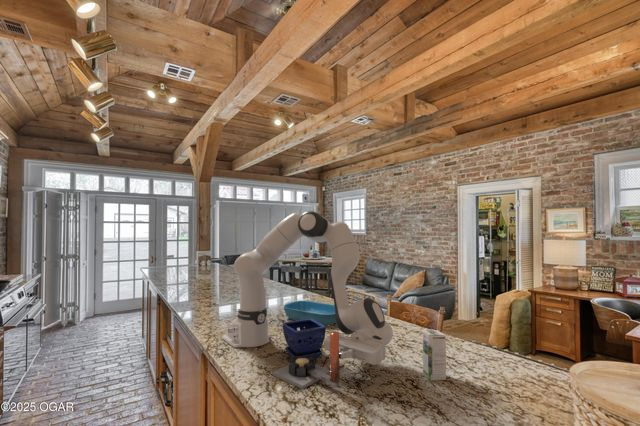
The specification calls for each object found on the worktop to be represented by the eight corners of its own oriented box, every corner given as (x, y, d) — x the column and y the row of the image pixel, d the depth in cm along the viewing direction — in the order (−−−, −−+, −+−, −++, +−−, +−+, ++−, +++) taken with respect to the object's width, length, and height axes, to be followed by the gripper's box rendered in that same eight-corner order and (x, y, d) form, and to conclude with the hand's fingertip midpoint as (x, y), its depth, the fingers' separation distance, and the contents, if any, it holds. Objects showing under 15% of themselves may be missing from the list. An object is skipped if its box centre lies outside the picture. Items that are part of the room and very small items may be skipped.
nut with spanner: (283, 370, 106) (284, 322, 107) (303, 362, 113) (303, 317, 113) (327, 393, 91) (327, 337, 92) (347, 383, 98) (347, 331, 98)
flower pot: (294, 365, 114) (294, 331, 114) (281, 352, 125) (281, 322, 126) (326, 358, 120) (326, 326, 120) (311, 347, 131) (311, 317, 132)
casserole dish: (353, 319, 173) (353, 306, 173) (333, 330, 154) (333, 315, 154) (299, 310, 192) (299, 298, 193) (275, 318, 174) (275, 305, 174)
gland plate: (272, 375, 106) (272, 361, 106) (301, 362, 116) (301, 349, 116) (302, 389, 96) (302, 373, 97) (331, 373, 107) (331, 359, 107)
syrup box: (422, 373, 108) (421, 329, 108) (439, 372, 108) (438, 329, 109) (429, 381, 102) (428, 335, 103) (447, 380, 102) (446, 334, 103)
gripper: (338, 327, 114) (312, 338, 104) (389, 340, 101) (366, 353, 91) (338, 345, 114) (312, 357, 103) (389, 360, 101) (366, 376, 90)
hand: (338, 355), depth 97 cm, fingers closed, pressing on nut with spanner
